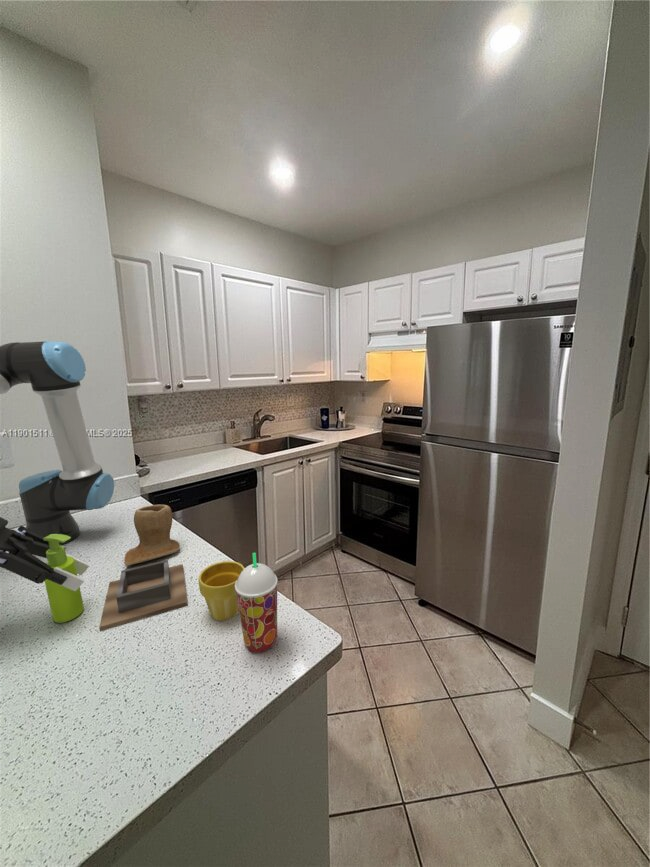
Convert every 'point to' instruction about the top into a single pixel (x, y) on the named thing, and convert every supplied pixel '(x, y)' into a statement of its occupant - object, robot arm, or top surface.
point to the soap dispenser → (61, 598)
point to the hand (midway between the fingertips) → (82, 577)
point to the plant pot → (220, 588)
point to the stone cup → (152, 534)
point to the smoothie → (257, 605)
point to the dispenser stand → (144, 593)
